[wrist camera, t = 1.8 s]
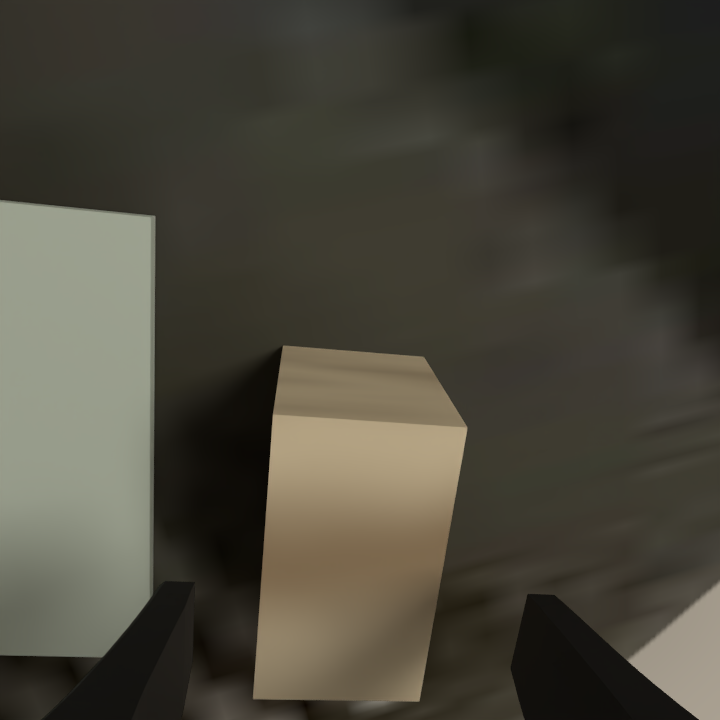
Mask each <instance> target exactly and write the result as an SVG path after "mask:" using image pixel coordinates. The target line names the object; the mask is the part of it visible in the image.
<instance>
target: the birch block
mask: <svg viewBox="0 0 720 720" xmlns="http://www.w3.org/2000/svg"><path fill="white" fill-rule="evenodd" d="M466 433H467V426H466V424H465V423H464V421H463V420H462V418H461V416H460V415H459V413H458V411H457V410H456V408H455V407H454V405H453V403H452V402H451V400H450V399H449V397H448V395H447V394H446V392H445V390H444V389H443V387H442V386H441V384H440V382H439V381H438V379H437V378H436V376H435V374H434V373H433V371H432V369H431V368H430V366H429V365H428V363H427V361H426V360H425V358H424V357H418V356H406V355H393V354H381V353H368V352H356V351H343V350H331V349H318V348H306V347H293V346H283V349H282V356H281V363H280V370H279V377H278V384H277V390H276V397H275V404H274V411H273V422H272V436H271V450H270V464H269V479H268V493H267V507H266V521H265V536H264V550H263V564H262V578H261V593H260V607H259V621H258V635H257V650H256V664H255V678H254V692H253V699H284V700H354V701H419V700H420V694H421V688H422V683H423V677H424V671H425V666H426V660H427V654H428V649H429V643H430V637H431V632H432V626H433V620H434V615H435V609H436V603H437V598H438V592H439V586H440V581H441V575H442V569H443V564H444V558H445V552H446V547H447V541H448V535H449V530H450V524H451V518H452V513H453V507H454V501H455V496H456V490H457V484H458V479H459V473H460V467H461V462H462V456H463V450H464V445H465V439H466Z"/></svg>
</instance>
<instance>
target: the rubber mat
mask: <svg viewBox="0 0 720 720" xmlns="http://www.w3.org/2000/svg"><path fill="white" fill-rule="evenodd" d="M154 357H155V216H151V215H141V214H131V213H122V212H112V211H102V210H92V209H82V208H73V207H63V206H53V205H43V204H33V203H24V202H14V201H4V200H0V655H14V656H64V657H103V656H104V655H105V654H106V653H107V652H108V650H109V649H110V648H111V647H112V646H113V645H114V643H115V642H116V641H117V640H118V639H119V637H120V636H121V635H122V634H123V633H124V632H125V630H126V629H127V628H128V627H129V625H130V624H131V623H132V622H133V620H134V619H135V618H136V617H137V615H138V614H139V613H140V612H141V610H142V609H143V608H144V606H145V605H146V604H147V602H148V601H149V600H150V598H151V597H152V595H153V534H154Z"/></svg>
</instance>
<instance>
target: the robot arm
mask: <svg viewBox="0 0 720 720" xmlns="http://www.w3.org/2000/svg"><path fill="white" fill-rule="evenodd" d="M194 597H195V582H172V581H165V582H163V583H162V584H161V585H160V586H159V587H158V588H157V590H156V591H155V593H154V594H153V595H152V597H151V598H150V600H149V601H148V602H147V604H146V605H145V606H144V608H143V609H142V610H141V612H140V613H139V614H138V615H137V617H136V618H135V619H134V620H133V622H132V623H131V624H130V625H129V627H128V628H127V629H126V630H125V632H124V633H123V634H122V635H121V636H120V637H119V639H118V640H117V641H116V642H115V643H114V645H113V646H112V647H111V648H110V649H109V650H108V652H107V653H106V654H105V655H104V656H103V657H102V658H101V660H100V661H99V662H98V663H97V664H96V665H95V666H94V667H93V668H92V669H91V670H90V671H89V672H88V674H87V675H86V676H85V677H84V678H83V679H82V680H81V681H80V682H79V683H78V684H77V685H76V686H75V687H74V688H73V689H72V690H71V692H70V693H69V694H68V695H67V696H66V697H65V698H64V699H63V700H62V701H60V702H59V703H58V704H57V705H56V706H55V707H54V708H53V709H52V710H51V711H50V712H49V713H48V714H47V715H46V716H45V717H44V718H43V719H42V720H181V717H182V713H183V709H184V704H185V699H186V694H187V689H188V683H189V678H190V672H191V667H192V662H193V631H194ZM511 671H512V675H513V679H514V683H515V687H516V691H517V695H518V698H519V702H520V705H521V709H522V712H523V716H524V718H525V720H699V719H697V718H696V717H695V716H693V715H692V714H691V713H690V712H688V711H687V710H686V709H684V708H683V707H682V706H680V705H679V704H678V703H677V702H676V701H674V700H673V699H672V698H671V697H669V696H668V695H667V694H666V693H664V692H663V691H662V690H661V689H660V688H658V687H657V686H656V685H655V684H653V683H652V682H651V681H650V680H649V679H647V678H646V677H645V676H644V675H643V674H642V673H640V672H639V671H638V670H637V669H636V668H635V667H633V666H632V665H631V664H630V663H629V662H628V661H627V660H626V659H624V658H623V657H622V656H621V655H620V654H619V653H618V652H617V651H616V650H614V649H613V648H612V647H611V646H610V645H609V644H608V643H607V642H606V641H605V640H603V639H602V638H601V637H600V636H599V635H598V634H597V633H596V632H595V631H594V630H593V629H591V628H590V627H589V626H588V625H587V624H586V623H585V622H584V621H583V620H582V619H581V618H580V617H578V616H577V615H576V614H575V613H574V612H573V611H572V610H571V609H570V608H569V607H567V606H566V605H565V604H564V603H563V602H562V601H561V600H559V599H558V598H557V597H556V596H555V595H540V594H528V595H527V599H526V604H525V608H524V612H523V617H522V621H521V625H520V629H519V634H518V638H517V642H516V647H515V651H514V655H513V660H512V664H511Z"/></svg>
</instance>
